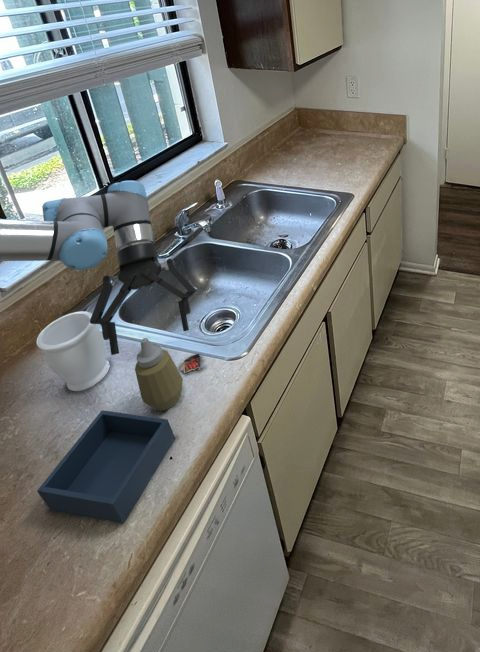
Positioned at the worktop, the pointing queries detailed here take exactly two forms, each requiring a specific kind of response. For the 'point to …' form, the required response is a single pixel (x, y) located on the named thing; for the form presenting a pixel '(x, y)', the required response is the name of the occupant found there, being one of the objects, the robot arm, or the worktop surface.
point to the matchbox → (191, 363)
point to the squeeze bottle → (157, 377)
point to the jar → (75, 350)
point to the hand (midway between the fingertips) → (151, 342)
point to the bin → (108, 466)
